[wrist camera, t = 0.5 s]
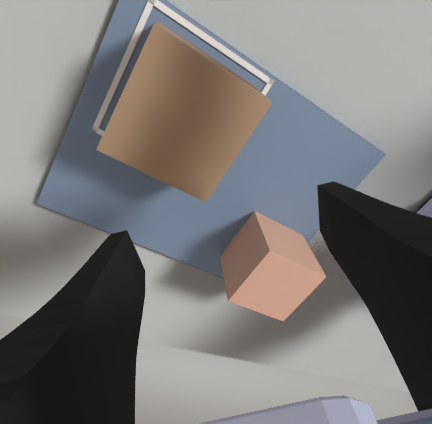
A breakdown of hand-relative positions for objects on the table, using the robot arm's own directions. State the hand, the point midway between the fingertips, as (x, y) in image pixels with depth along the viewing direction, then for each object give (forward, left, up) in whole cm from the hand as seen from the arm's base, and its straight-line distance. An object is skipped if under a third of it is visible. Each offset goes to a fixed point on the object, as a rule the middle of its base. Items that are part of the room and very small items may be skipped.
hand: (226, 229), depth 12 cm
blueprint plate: (-2, +2, -10) cm, 10 cm away
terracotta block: (-8, +5, -9) cm, 13 cm away
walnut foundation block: (+2, -1, -9) cm, 10 cm away
